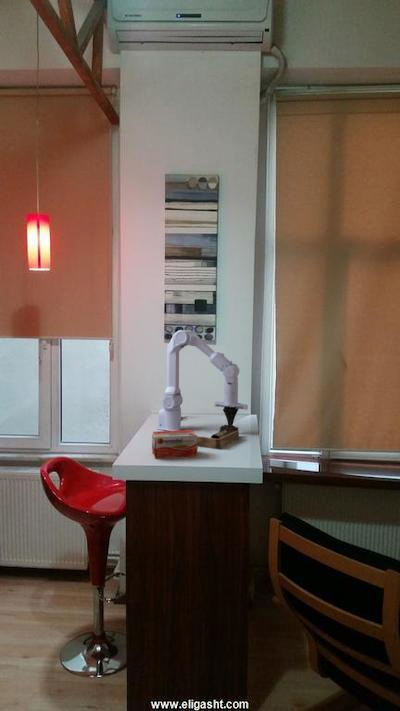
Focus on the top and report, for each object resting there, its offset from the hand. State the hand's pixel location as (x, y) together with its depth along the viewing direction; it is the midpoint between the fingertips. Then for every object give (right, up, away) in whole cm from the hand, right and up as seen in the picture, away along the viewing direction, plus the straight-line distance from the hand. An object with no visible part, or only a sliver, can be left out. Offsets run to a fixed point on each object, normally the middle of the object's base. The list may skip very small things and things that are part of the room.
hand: (230, 424), depth 207 cm
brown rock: (-3, -5, -12) cm, 13 cm away
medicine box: (-22, -6, -34) cm, 41 cm away
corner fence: (-7, -5, -15) cm, 17 cm away
